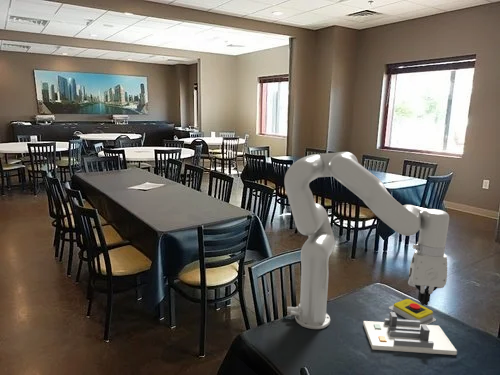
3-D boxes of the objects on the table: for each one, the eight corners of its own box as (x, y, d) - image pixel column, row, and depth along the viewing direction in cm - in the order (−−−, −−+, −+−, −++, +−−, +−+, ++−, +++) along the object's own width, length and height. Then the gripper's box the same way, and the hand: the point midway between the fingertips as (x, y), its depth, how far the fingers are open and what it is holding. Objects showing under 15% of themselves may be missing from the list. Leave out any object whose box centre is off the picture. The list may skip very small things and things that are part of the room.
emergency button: (422, 317, 131) (388, 298, 143) (421, 328, 131) (387, 308, 144) (438, 310, 135) (403, 292, 148) (437, 321, 136) (402, 302, 149)
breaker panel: (372, 349, 119) (372, 340, 118) (363, 324, 132) (363, 316, 132) (456, 355, 116) (457, 345, 116) (438, 329, 130) (439, 320, 129)
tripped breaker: (422, 344, 119) (424, 330, 118) (419, 338, 122) (421, 324, 121) (427, 344, 119) (429, 330, 118) (424, 338, 122) (426, 325, 121)
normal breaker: (391, 329, 126) (392, 316, 125) (388, 324, 129) (389, 311, 128) (395, 330, 126) (397, 316, 125) (393, 325, 129) (394, 312, 128)
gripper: (409, 252, 111) (402, 307, 115) (461, 255, 109) (452, 311, 113) (402, 243, 118) (395, 295, 122) (450, 246, 117) (442, 298, 121)
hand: (423, 303), depth 118 cm, fingers closed
